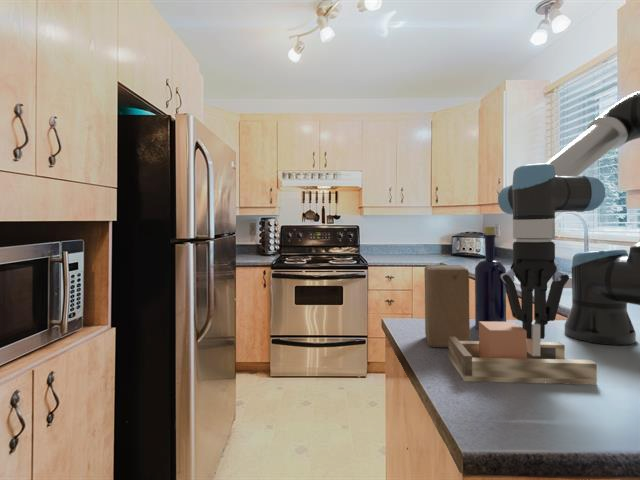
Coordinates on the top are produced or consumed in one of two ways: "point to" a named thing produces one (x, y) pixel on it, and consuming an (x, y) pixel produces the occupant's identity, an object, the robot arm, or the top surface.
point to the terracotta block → (502, 340)
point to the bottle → (489, 285)
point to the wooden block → (446, 304)
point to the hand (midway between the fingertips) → (533, 353)
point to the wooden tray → (521, 365)
